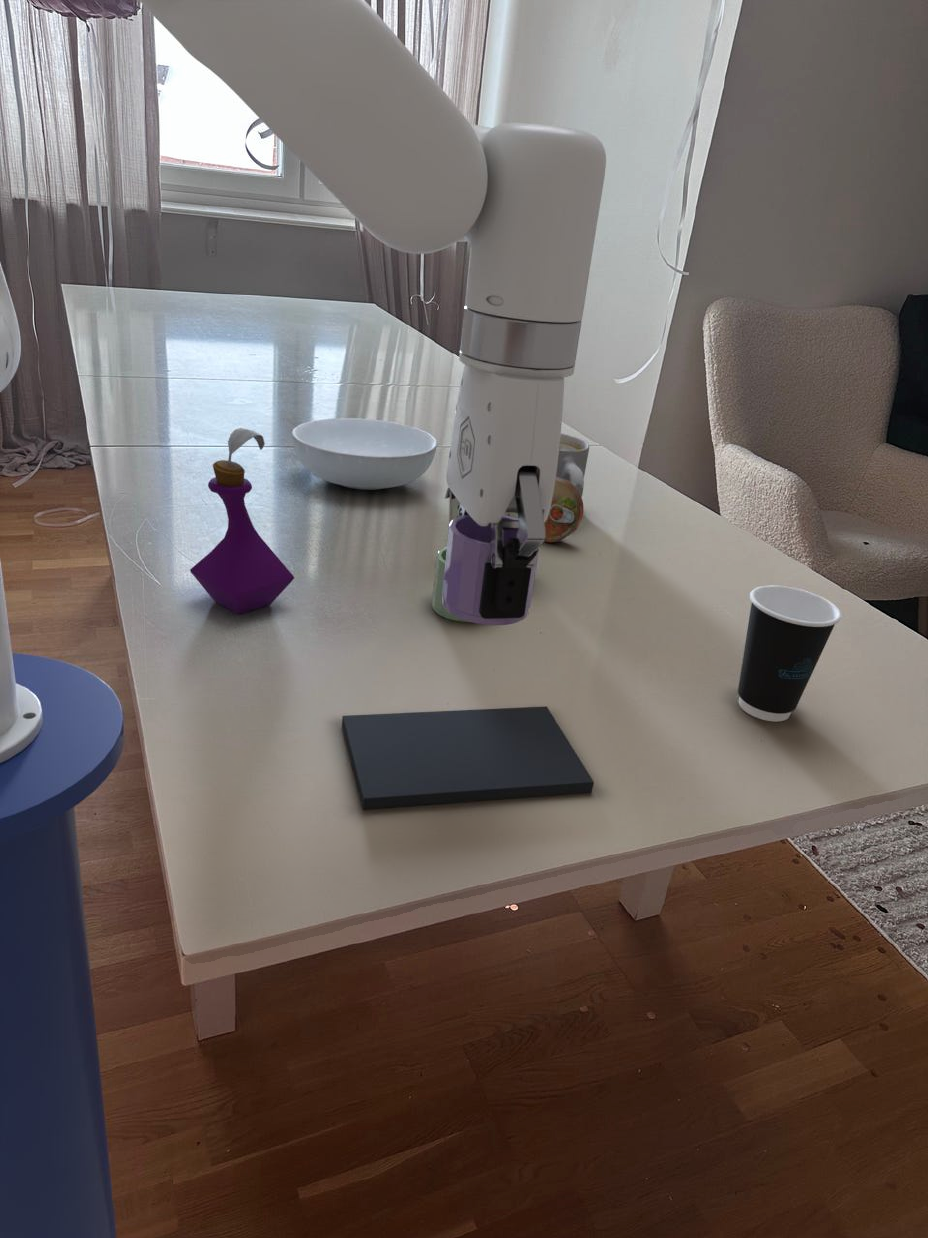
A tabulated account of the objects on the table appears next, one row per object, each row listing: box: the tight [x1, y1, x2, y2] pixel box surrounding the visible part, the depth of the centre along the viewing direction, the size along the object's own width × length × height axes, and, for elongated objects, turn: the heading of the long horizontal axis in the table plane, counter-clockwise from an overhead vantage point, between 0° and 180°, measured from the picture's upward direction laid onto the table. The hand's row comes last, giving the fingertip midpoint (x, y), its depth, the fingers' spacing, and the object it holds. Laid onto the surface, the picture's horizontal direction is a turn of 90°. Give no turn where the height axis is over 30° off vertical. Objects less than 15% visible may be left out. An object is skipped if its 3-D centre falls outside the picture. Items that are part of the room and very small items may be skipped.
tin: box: [544, 477, 584, 543], centre depth 119 cm, size 15×3×8 cm, turn 58°
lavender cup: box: [442, 515, 540, 626], centre depth 65 cm, size 6×6×6 cm
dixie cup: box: [737, 584, 842, 723], centre depth 82 cm, size 8×8×11 cm
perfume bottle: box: [189, 427, 295, 615], centre depth 88 cm, size 8×8×18 cm
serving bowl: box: [291, 417, 438, 491], centre depth 131 cm, size 21×21×7 cm
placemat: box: [341, 705, 595, 810], centre depth 72 cm, size 18×11×1 cm, turn 105°
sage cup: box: [431, 546, 470, 623], centre depth 96 cm, size 6×6×6 cm
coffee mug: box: [556, 433, 590, 498], centre depth 127 cm, size 13×10×10 cm
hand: (486, 592), depth 65 cm, fingers closed on lavender cup, 6 cm apart
